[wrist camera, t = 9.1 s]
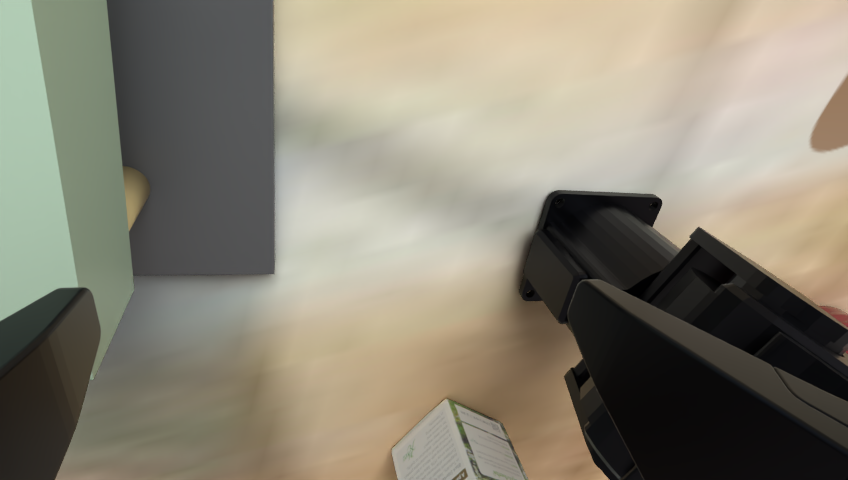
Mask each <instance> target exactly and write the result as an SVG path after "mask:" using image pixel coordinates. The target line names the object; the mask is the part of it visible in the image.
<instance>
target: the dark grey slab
mask: <svg viewBox="0 0 848 480" xmlns="http://www.w3.org/2000/svg"><path fill="white" fill-rule="evenodd" d="M107 11H108V21H109V32H110V42H111V52H112V63H113V73H114V84H115V94H116V104H117V115H118V125H119V135H120V146H121V156H122V167H123V177H124V187H125V198H126V208H127V219H128V229H129V239H130V250H131V260H132V270H133V275H232V274H274V270H275V174H274V0H107Z"/></svg>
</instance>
